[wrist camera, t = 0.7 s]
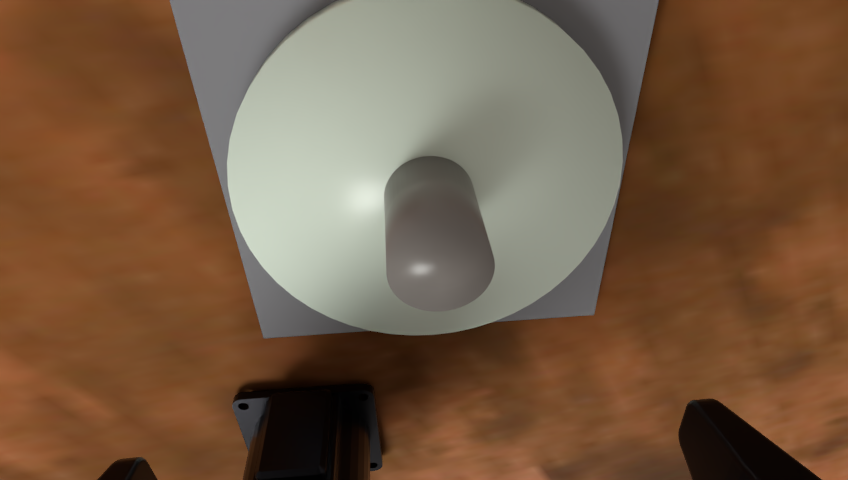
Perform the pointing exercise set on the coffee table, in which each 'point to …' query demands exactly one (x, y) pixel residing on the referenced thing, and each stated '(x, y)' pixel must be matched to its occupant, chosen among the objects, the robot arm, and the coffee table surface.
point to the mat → (293, 3)
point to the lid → (424, 162)
